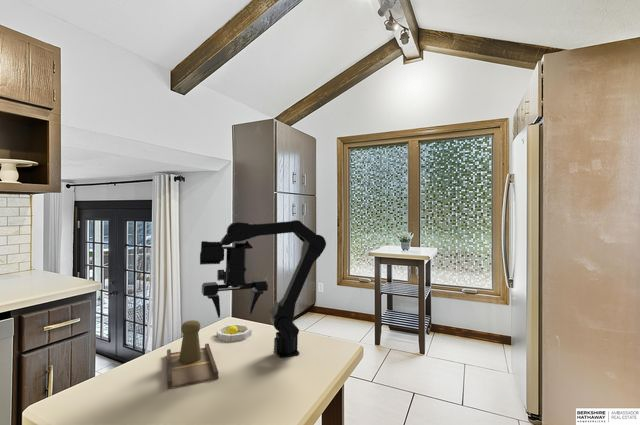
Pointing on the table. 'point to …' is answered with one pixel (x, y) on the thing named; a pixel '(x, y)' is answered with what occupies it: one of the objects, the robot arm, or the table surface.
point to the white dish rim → (234, 337)
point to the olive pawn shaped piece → (190, 342)
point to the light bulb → (231, 330)
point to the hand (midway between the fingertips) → (234, 315)
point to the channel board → (190, 369)
